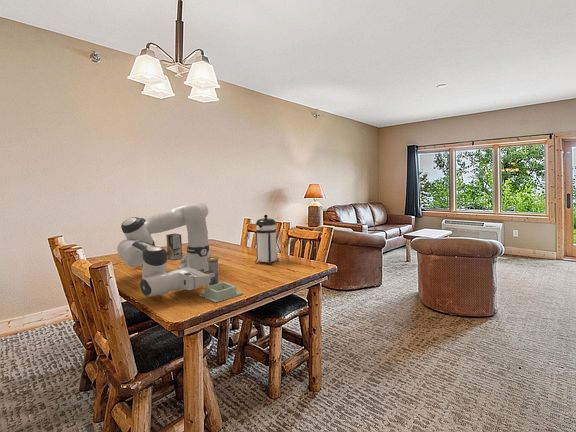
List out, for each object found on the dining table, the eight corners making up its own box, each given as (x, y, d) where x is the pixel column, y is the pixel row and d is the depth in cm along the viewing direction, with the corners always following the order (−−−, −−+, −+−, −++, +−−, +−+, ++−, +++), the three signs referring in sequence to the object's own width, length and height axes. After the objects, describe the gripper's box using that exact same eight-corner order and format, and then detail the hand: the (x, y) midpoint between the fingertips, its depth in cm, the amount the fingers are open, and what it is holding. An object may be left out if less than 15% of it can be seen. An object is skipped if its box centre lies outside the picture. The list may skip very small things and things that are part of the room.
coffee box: (182, 258, 207) (181, 234, 205) (173, 260, 202) (172, 235, 201) (176, 256, 213) (175, 233, 212) (167, 257, 209) (165, 234, 207)
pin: (206, 286, 149) (205, 258, 148) (215, 283, 153) (214, 256, 152) (212, 288, 146) (211, 259, 144) (221, 286, 149) (220, 257, 148)
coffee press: (283, 264, 188) (282, 215, 185) (257, 266, 184) (256, 216, 181) (276, 257, 205) (275, 212, 202) (252, 259, 200) (250, 213, 197)
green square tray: (198, 294, 138) (198, 287, 138) (225, 287, 148) (224, 279, 148) (215, 303, 128) (215, 294, 128) (242, 294, 138) (242, 286, 138)
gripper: (170, 280, 144) (197, 274, 154) (192, 291, 130) (220, 283, 140) (170, 267, 144) (197, 262, 153) (191, 276, 129) (220, 269, 139)
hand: (208, 272), depth 146 cm, fingers open, 8 cm apart
